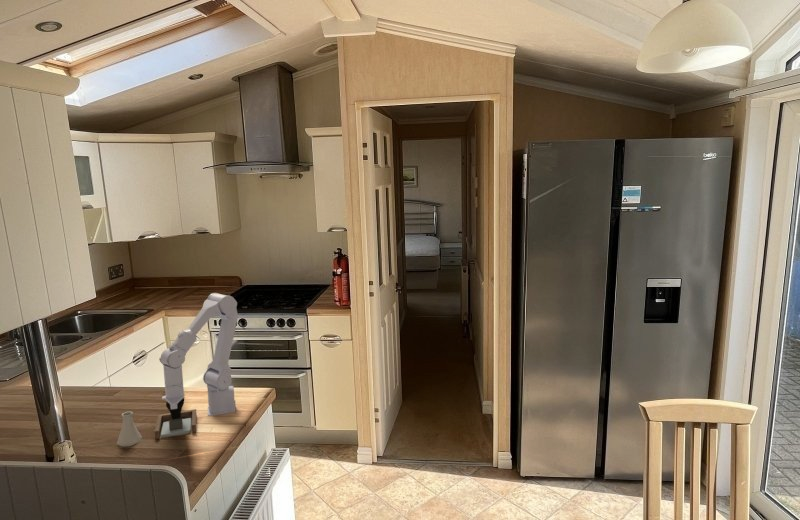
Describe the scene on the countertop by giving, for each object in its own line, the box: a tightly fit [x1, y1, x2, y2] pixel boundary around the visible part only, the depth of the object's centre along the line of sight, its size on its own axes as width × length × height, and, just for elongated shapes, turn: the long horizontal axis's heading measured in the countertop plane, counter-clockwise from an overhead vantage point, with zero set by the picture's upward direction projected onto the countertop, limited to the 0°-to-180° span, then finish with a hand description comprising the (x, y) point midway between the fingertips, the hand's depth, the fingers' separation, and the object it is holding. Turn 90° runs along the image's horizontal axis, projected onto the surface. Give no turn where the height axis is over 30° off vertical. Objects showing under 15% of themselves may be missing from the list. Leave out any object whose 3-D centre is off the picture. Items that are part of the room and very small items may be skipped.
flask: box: [115, 411, 143, 448], centre depth 161 cm, size 7×7×10 cm
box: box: [154, 408, 198, 440], centre depth 171 cm, size 12×13×3 cm
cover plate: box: [161, 418, 192, 439], centre depth 170 cm, size 9×10×4 cm
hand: (176, 420), depth 172 cm, fingers closed
